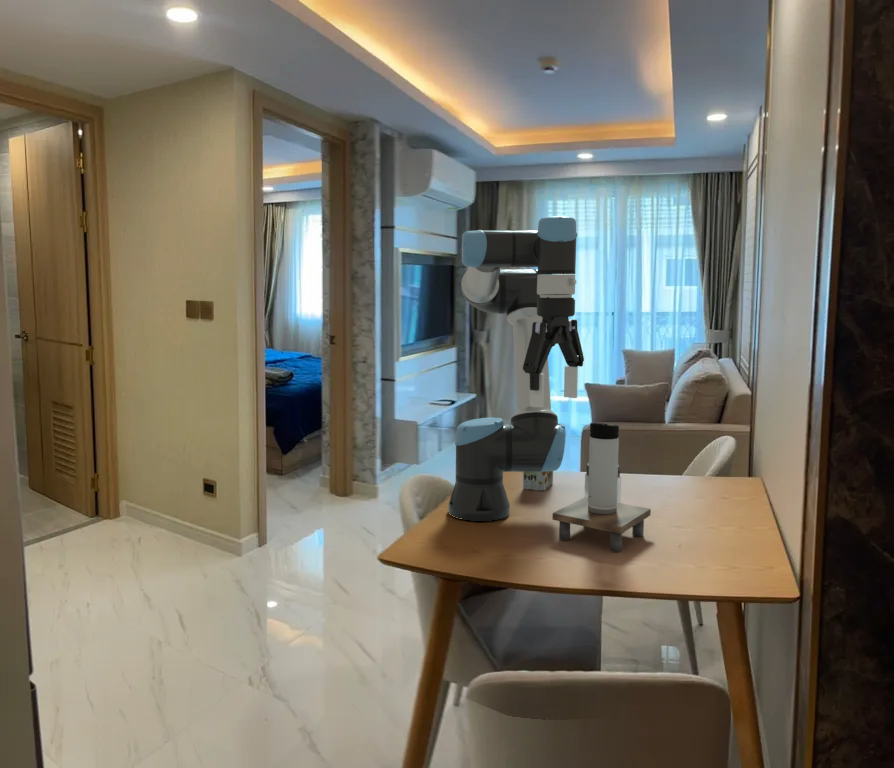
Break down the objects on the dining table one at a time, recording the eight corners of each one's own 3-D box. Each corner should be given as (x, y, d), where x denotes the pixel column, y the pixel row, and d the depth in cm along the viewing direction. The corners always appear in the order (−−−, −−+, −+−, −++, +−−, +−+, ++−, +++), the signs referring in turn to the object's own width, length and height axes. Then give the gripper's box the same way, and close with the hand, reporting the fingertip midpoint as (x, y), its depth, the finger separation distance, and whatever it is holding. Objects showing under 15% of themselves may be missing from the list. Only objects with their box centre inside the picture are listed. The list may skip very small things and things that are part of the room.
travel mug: (581, 511, 159) (583, 422, 157) (597, 505, 164) (599, 418, 161) (606, 517, 155) (609, 425, 152) (621, 510, 160) (624, 421, 157)
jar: (601, 519, 173) (602, 470, 171) (577, 511, 180) (578, 464, 178) (627, 513, 178) (628, 465, 176) (603, 505, 185) (604, 459, 183)
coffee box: (544, 491, 198) (545, 434, 196) (522, 489, 200) (523, 432, 198) (553, 483, 206) (554, 428, 204) (531, 481, 209) (532, 427, 207)
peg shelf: (552, 539, 159) (552, 513, 158) (584, 521, 171) (585, 497, 170) (620, 554, 149) (621, 526, 148) (649, 534, 162) (650, 508, 161)
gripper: (539, 298, 131) (537, 412, 134) (601, 295, 150) (599, 395, 153) (505, 297, 136) (504, 408, 139) (569, 294, 155) (568, 392, 158)
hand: (554, 402), depth 146 cm, fingers open, 13 cm apart
